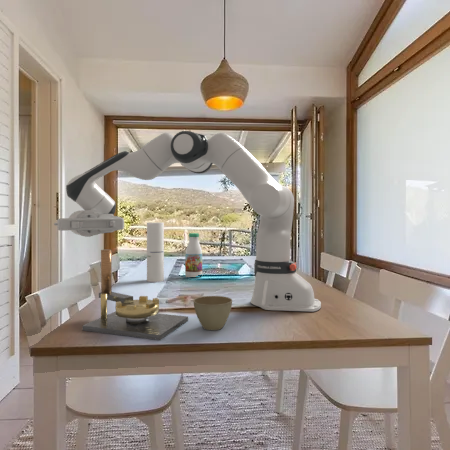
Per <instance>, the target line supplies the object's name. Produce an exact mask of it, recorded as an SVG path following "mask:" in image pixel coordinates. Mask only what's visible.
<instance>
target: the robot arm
mask: <svg viewBox="0 0 450 450" xmlns="http://www.w3.org/2000/svg"><path fill="white" fill-rule="evenodd" d="M174 164H180V165H181V166H182V167H184V168H185V169H187V170H188V171H190V172H192V173H194V174H205V173H207V172H209V170H210V169H211V168H212V167H213V165H215V166H216V167H217V168H218V169H219V171H221V173H223V174H224V176H226V178H227V179H228V180H229V181H230V182H231V183H232V184H234V185H233V186H235V187H236V189H237V190H238V191H239V192H240V194H242V196H243V198H244V199H245V200H246V201H247V203H248V204H249V206H250V207H251V208H252V210H253V211H254V212H255V213H256V214H257V215H259V216H260V219H259V224H258V229H257V233H256V238H255V240H256V241H255V242H256V246H255V247H256V249H255V257H256V258H255V260H254V264H253V265H254V266H253V267H254V268H253V274H254V284H253V285H254V287H253V292H252V296H251V298H250V299H251V300H250V303H251V304H252V305H254V306H256V307H259V308H261V309H263V310H266V311H288V312H317V311H319V310H320V309H321V308H322V302H321V301H320V300H319V299H318V298H315V293H314V289H313V287H312V285H311V283H310V282H308V281H307V280H306V279H305V278H304V277H302V276H301V275H300V274H298V273H297V262H294V261H293V260H291V235H292V228H293V219H294V210H295V209H294V208H295V197H294V193H293V192H292V190H290V188H288V187H287V186H285V185H282V184H280V183H279V182H278V181H276V180H275V179H274V178H273V177H272V175H271V174H270V173H269V172H268V171H267V170H266V168H265V167H264V166H263V164H262V163H261V162H259V160H257V158H255V156H253V154H252V153H251V152H250V151H248V149H246V147H244V146H243V145H242V144H241V143H240V142H239V141H237V140H236V139H235V138H234V137H233V136H231V135H229V134H228V133H225V132H218V133H215V134H214V135H212V137H210V138H207V136H206V134H202V133H197V132H194V131H190V130H189V131H188V130H182V131H179V132H177V133H175V134H172V133H170V132H164V133H163V132H162V133H161V134H159V135H158V136H156V137H155V138H153V139H151V140H150V141H149V142H147V143H146V144H145V145H143V146H142V147H141V148H139V149H138V150H136V151H132V152H129V151H126V150H123V151H121V152H118V153H116V154H114V155H113V156H111V157H109V158H107V159H105V160H103V161H101V162H100V163H99V164H97V165H95V166H94V167H92V168H91V169H89V170H86V171H85V172H83V173H81V174H78V175H75V176H74V177H72V178H71V179H70V180H69V181H68V182H67V184H66V186H65V187H66V188H65V189H66V195H67V197H68V198H69V199H71V200H72V201H73V202H75V203H76V204H77V205H78V206H80V207H81V208H82V209H83V210H77V211H74V212H73V213H71V214H70V215H69V216H68V217H64V218H57V222H54V223H53V225H54V226H56V227H57V230H58V231H60V232H61V231H71V232H72V233H73V234H75V235H79V236H82V237H85V238H87V237H89V238H90V237H93V236H97V235H101V234H108V233H109V234H111V233H114V232H115V231H122V230H124V228H125V220H124V219H125V218H123V217H121V216H117V215H115V213H116V207H117V203H116V201H115V200H114V199H113V198H112V197H111V196H110V195H109V194H108V193H107V192H106V191H105V190H103V188H101V187H100V185H98V184H97V183H96V181H98V180H99V179H101V178H103V177H104V176H106V175H107V174H108V175H109V173H111V172H114V171H121V172H122V173H126V174H127V175H128V174H129V175H130V176H131V177H135V178H136V179H139V180H142V181H144V180H145V181H150V180H151V181H152V180H154V179H155V178H157V177H159V176H160V175H161V174H162V173H164V172H165V171H166V170H168V168H169V167H170V166H172V165H174Z"/></svg>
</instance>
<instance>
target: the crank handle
mask: <svg viewBox="0 0 450 450" xmlns="http://www.w3.org/2000/svg"><path fill="white" fill-rule="evenodd" d="M112 255H113V254H112V249H101V250H100V292H98V298H99V299H101V294H103V293H106V294H107V301H111V302H115V311H116V315H117V316H119V317H123V318H144V317H149V316H153V315H156V314H157V313H159V312H160V299H159V298H157V297H154V298H152V299H149V296H147V295H140V296H139V297H138V299H134V295H129V294H124V293H119V292H114V291H112V290H113V288H112V285H113V283H112V279H113V278H112V272H113V270H112V267H113V266H112V265H113V262H112ZM159 314H160V313H159Z"/></svg>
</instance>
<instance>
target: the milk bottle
mask: <svg viewBox="0 0 450 450" xmlns="http://www.w3.org/2000/svg"><path fill="white" fill-rule="evenodd" d="M199 240H200V234H199V232H195V233H194V232H190V233H188V244H187V245H186V249H185V254H184V256H185V259H184V260H185V261H184V263H185V266H184V268H185V270H184V271H185V272H184V273H185V274H184V275H185V277H186V278H187V277H196V276H198V275H201V274H202V275H203V251H202V249H203V248H202V246H201V244H200V241H199Z"/></svg>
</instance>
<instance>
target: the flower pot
mask: <svg viewBox="0 0 450 450" xmlns="http://www.w3.org/2000/svg"><path fill="white" fill-rule="evenodd" d="M192 302H193V307H194V312H195V314H196V317H197V319H198V321H199V323H200V325H201V326H202V328H203V329H204V330H207V331H218V330H221V329H223V328H224V326H225V324H226V323H227V320H228V318H229V316H230V314H231V311H232V306H233V299H232V298H231V297H227V296H221V295H207V296H199V297H196V298H194V299H193V301H192Z"/></svg>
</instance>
